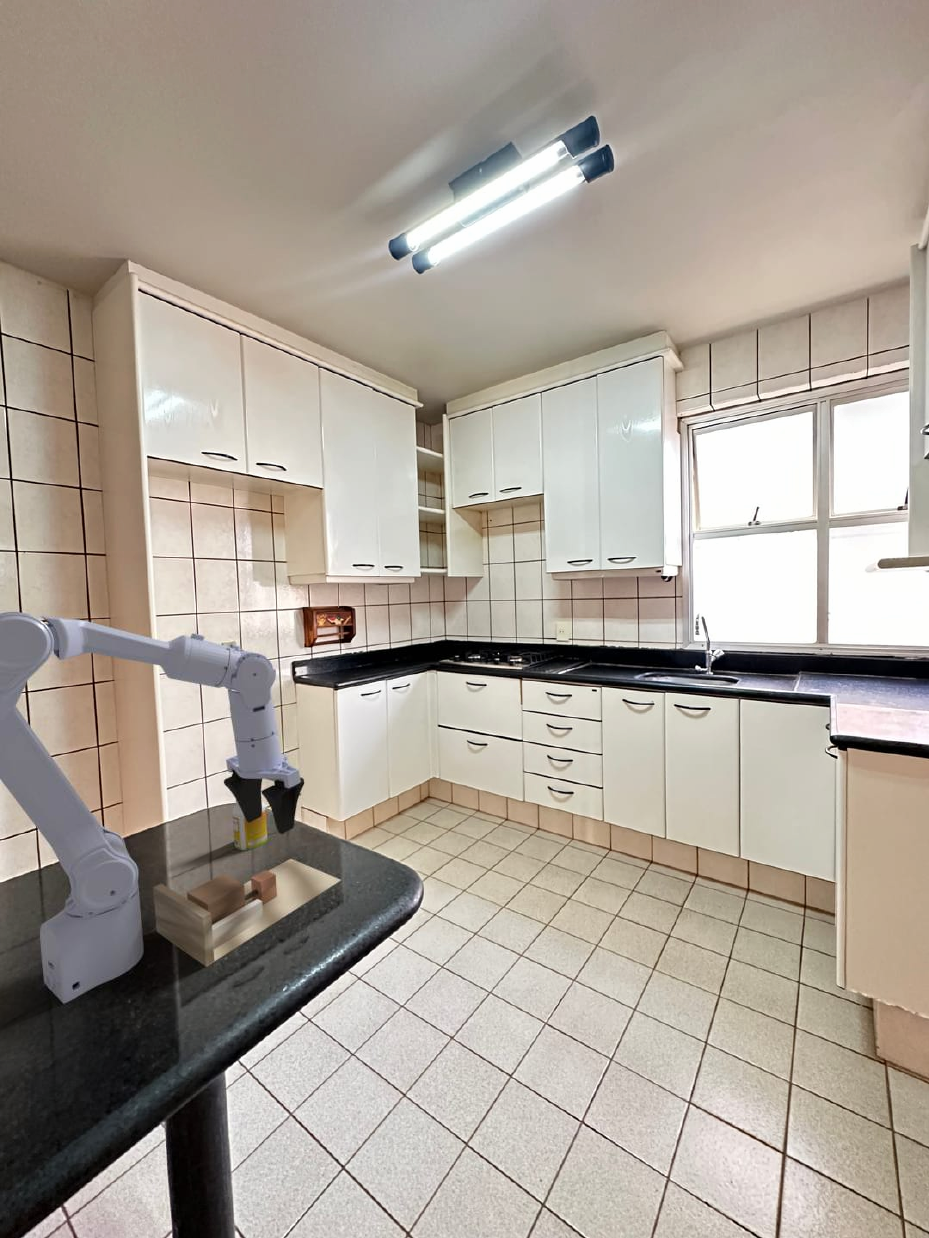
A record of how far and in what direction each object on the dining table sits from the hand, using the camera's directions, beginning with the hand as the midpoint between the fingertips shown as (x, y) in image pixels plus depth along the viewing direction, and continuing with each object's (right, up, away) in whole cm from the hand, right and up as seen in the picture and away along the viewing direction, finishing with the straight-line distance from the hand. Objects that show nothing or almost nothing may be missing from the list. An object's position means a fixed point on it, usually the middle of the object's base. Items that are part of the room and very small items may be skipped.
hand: (270, 824), depth 76 cm
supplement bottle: (-9, -11, +16) cm, 22 cm away
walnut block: (-3, -11, -4) cm, 12 cm away
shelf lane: (-1, -11, -2) cm, 11 cm away
